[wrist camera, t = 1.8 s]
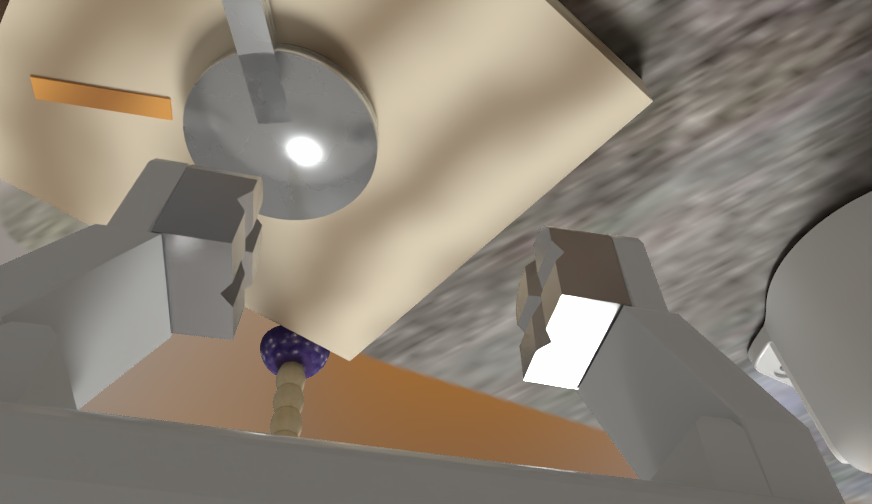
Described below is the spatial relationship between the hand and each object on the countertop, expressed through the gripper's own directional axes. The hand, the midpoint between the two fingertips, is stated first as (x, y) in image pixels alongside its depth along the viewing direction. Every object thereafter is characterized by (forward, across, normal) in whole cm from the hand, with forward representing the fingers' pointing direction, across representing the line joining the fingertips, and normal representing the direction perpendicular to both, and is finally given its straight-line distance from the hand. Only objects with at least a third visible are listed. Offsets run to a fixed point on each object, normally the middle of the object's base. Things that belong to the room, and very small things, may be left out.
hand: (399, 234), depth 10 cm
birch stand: (+19, +4, +9) cm, 22 cm away
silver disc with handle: (+17, +5, +6) cm, 18 cm away
